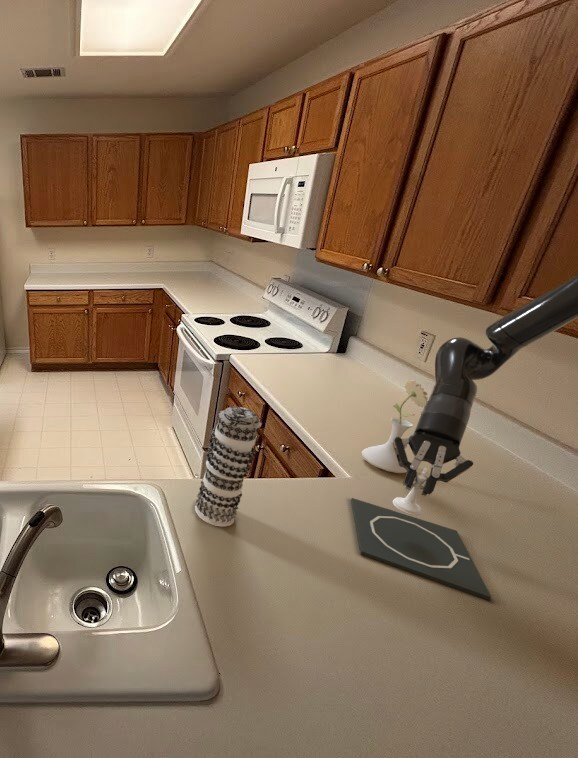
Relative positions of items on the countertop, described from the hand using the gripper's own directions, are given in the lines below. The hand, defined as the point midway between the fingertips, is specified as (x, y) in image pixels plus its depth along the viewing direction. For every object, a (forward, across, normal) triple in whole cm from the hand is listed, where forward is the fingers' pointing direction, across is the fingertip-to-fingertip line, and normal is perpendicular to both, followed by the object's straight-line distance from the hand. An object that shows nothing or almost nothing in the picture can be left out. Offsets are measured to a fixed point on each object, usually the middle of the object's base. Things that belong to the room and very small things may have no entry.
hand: (416, 491), depth 84 cm
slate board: (+9, +3, +8) cm, 12 cm away
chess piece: (+2, 0, +6) cm, 6 cm away
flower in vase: (-16, -6, +33) cm, 37 cm away
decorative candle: (+25, -31, -8) cm, 40 cm away
